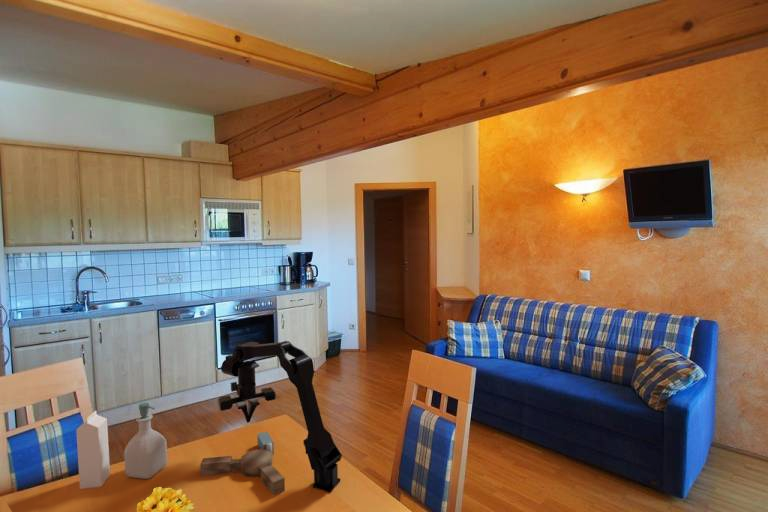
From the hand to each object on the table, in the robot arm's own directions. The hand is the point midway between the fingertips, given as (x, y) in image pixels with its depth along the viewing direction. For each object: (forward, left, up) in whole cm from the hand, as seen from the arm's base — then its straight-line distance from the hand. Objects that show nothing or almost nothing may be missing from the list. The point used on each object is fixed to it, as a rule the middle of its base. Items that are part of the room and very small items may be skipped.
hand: (248, 422), depth 145 cm
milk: (+33, +32, -11) cm, 47 cm away
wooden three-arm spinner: (-9, +10, -11) cm, 17 cm away
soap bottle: (+23, +22, -11) cm, 34 cm away
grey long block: (-5, -3, -11) cm, 12 cm away
